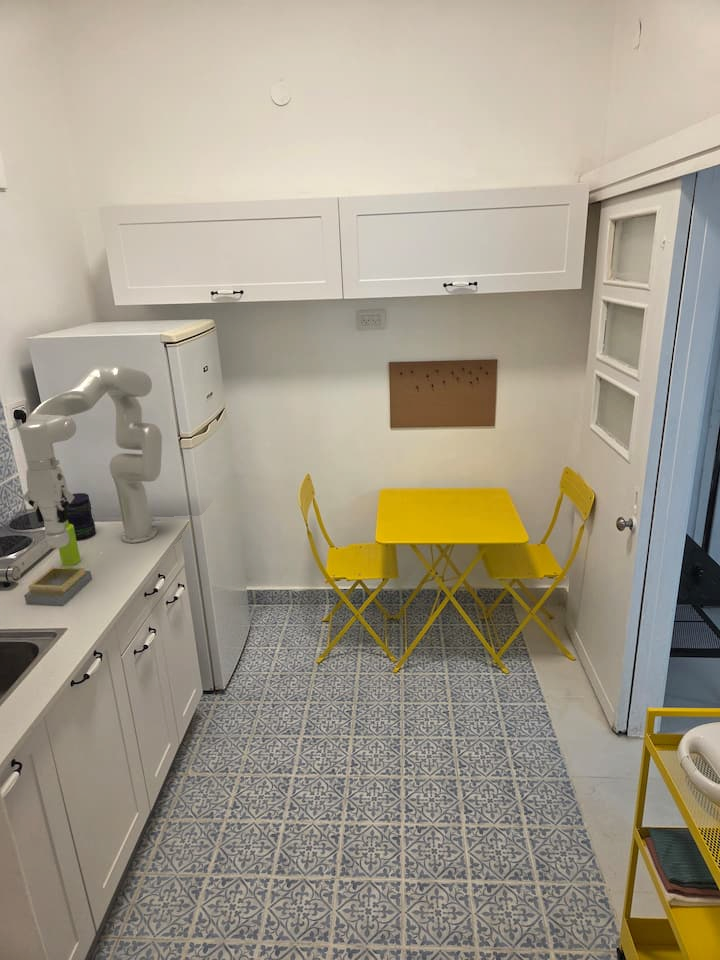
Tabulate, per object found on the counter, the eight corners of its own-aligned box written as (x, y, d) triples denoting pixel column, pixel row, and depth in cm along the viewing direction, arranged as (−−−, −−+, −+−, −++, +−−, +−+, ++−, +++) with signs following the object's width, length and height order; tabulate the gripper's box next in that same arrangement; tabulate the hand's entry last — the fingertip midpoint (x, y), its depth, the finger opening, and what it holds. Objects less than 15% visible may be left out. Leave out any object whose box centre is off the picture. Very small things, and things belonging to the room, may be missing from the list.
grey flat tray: (57, 577, 202) (54, 563, 200) (92, 579, 200) (89, 565, 198) (26, 604, 187) (22, 589, 185) (63, 605, 185) (59, 591, 183)
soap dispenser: (58, 561, 212) (46, 507, 205) (80, 557, 215) (69, 503, 208) (58, 568, 207) (45, 513, 200) (80, 564, 210) (69, 509, 203)
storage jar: (101, 530, 235) (94, 493, 230) (85, 542, 226) (77, 503, 221) (78, 528, 237) (71, 492, 232) (61, 540, 228) (53, 502, 223)
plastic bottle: (62, 551, 186) (49, 489, 179) (42, 550, 187) (28, 488, 180) (75, 542, 192) (63, 481, 185) (55, 541, 193) (43, 480, 186)
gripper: (76, 460, 183) (87, 516, 189) (22, 459, 185) (34, 515, 191) (62, 468, 176) (73, 526, 182) (5, 467, 178) (19, 525, 184)
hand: (53, 520), depth 187 cm, fingers closed on plastic bottle, 6 cm apart
